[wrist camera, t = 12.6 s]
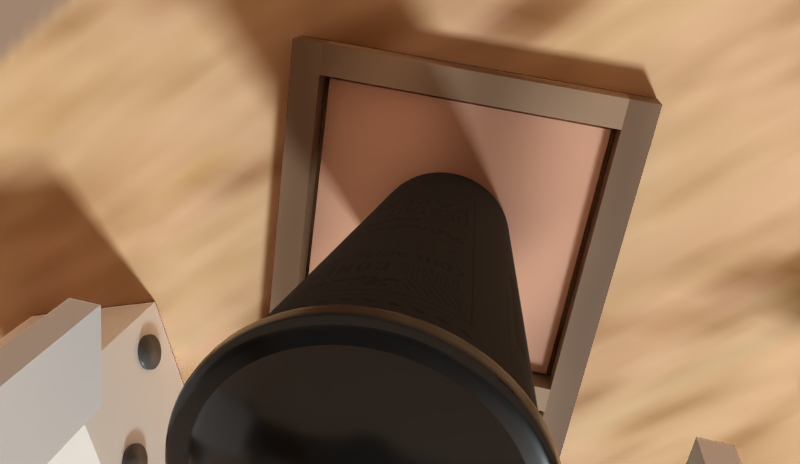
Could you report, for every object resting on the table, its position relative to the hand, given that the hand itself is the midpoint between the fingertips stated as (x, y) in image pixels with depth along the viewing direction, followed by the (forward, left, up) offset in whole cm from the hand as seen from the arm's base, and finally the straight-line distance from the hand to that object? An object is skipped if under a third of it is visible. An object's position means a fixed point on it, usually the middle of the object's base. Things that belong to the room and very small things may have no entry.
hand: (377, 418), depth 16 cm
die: (-13, -9, -12) cm, 20 cm away
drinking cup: (0, 0, -11) cm, 11 cm away
